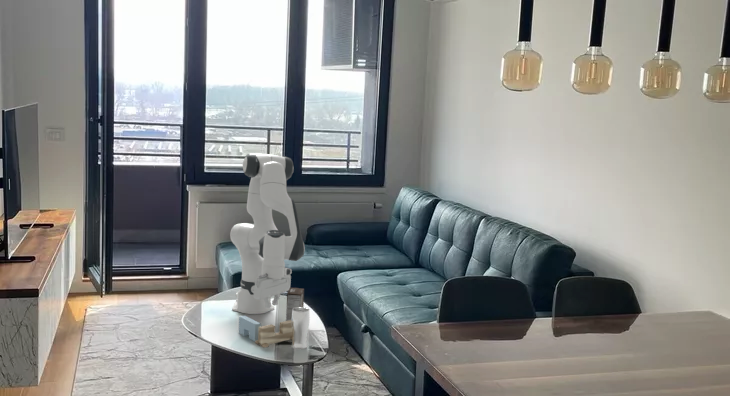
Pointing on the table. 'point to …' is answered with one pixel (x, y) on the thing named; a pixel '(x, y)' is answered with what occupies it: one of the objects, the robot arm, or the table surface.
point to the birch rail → (274, 334)
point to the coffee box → (294, 301)
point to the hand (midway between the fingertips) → (271, 306)
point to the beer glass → (300, 327)
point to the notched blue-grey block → (249, 327)
